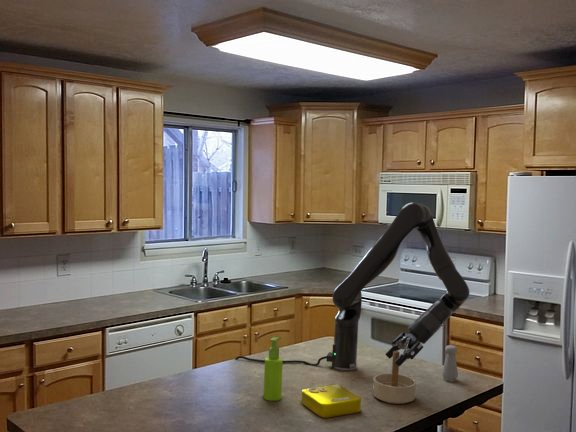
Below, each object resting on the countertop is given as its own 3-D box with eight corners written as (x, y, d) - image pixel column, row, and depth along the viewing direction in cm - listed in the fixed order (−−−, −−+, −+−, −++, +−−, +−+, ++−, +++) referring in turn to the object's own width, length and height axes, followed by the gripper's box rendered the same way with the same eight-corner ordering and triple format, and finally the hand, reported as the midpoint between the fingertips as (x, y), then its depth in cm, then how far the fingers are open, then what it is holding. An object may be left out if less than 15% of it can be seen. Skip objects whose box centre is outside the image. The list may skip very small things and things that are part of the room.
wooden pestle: (387, 396, 199) (389, 352, 198) (388, 392, 203) (390, 349, 202) (400, 398, 197) (402, 354, 197) (401, 393, 202) (403, 350, 201)
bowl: (370, 402, 195) (371, 384, 195) (374, 388, 209) (375, 371, 208) (414, 407, 192) (415, 389, 191) (415, 392, 205) (416, 376, 205)
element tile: (322, 419, 179) (323, 403, 179) (299, 402, 192) (299, 387, 192) (363, 412, 186) (363, 397, 186) (337, 395, 199) (338, 382, 199)
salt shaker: (456, 378, 223) (458, 344, 223) (459, 383, 218) (461, 348, 217) (440, 377, 224) (442, 343, 223) (443, 382, 218) (444, 347, 217)
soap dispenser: (284, 395, 198) (286, 336, 197) (277, 401, 192) (279, 341, 191) (268, 392, 200) (270, 334, 199) (260, 399, 194) (263, 339, 193)
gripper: (409, 314, 207) (377, 347, 205) (427, 324, 193) (392, 359, 192) (423, 329, 209) (391, 361, 207) (441, 339, 195) (407, 374, 193)
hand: (391, 360), depth 199 cm, fingers open, 8 cm apart
